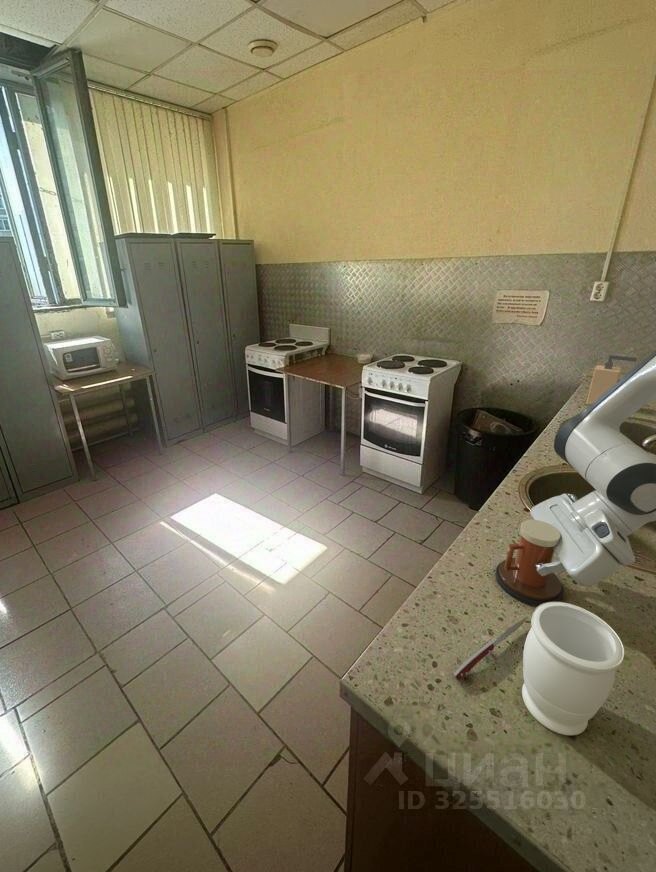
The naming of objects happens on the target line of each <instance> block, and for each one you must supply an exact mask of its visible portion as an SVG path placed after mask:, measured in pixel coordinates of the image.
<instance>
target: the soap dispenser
mask: <svg viewBox="0 0 656 872" xmlns="http://www.w3.org/2000/svg"><path fill="white" fill-rule="evenodd" d="M637 358H638V357H635V356H625V355H614V354H610V355H609V358H608V361H606V362H605V365H599V364H596V366H595V367H594V371H593V374H592V379H591V383H590V386H589V390H588V395H587V398H586V403H585V404H586V405H588V406H590V405H591V404H592V403H594V402H595V401H596V400H597V399H598V398H599V397H601V396H602V395H603V394H604V393H605V392H606V391H608V390H609V389H610V388H611V387H612V386H613V385H615V384H616V383H617V382H618V381H619V377H620V375H621V371H622V367H617V366H614V361H613V360H617V361H626V362H627V361H628V362H635V363H636V362H637Z"/></svg>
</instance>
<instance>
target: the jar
mask: <svg viewBox="0 0 656 872" xmlns="http://www.w3.org/2000/svg"><path fill="white" fill-rule="evenodd" d="M530 621H531V622H530V623H531V624H530V625H531V626H530V629H529V631H528V633H527V636H526V639H525V642H524V645H523V654H522V660H523V661H522V675H523V684H522V687H521V696H522V700H523V702H524V705H525V707H526V708H527V710H528V711H529V713H530V714H531V715H532V717H533V718H534V719H535V720H536V721H538V722H539V724H541V725H542V726H544V727H545V728H547V729H549V730H550V731H552V732H554V733H556V734H560V735H563V736H577V735H580V734H582V733H584V732H585V730H586V729H587V727H588V723H589V720H591V719H592V718H594V716H595V715H596V714H597V713H598V711H599V710H600V709H601V707H602V706H603V705H604V704H605V702H606V701H607V700H608V699H609V697H610V695H611V692H612V690H613V688H614V684H615V680H616V673H617V669H618V668H619V667H620V666H621V664H622V662H623V660H624V656H625V647H624V645H623V643H622V641H621V638H620V637H619V635H618V634H617V633H616V631H615V630H614V629H613V628H612V627H611V626H610V625H609V624H608V623H607V622H606V621H604V620H603V619H602V618H600V617H599V616H598V615H596V614H595V613H593V612H591V611H589V610H588V609H585V608H583V607H580V606H578V605H575V604H573V603H568V602H563V601H560V602H547V603H543V604H541V605H539V606H536V607H535V609H534V610H533V612H532V616H531V620H530Z"/></svg>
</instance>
